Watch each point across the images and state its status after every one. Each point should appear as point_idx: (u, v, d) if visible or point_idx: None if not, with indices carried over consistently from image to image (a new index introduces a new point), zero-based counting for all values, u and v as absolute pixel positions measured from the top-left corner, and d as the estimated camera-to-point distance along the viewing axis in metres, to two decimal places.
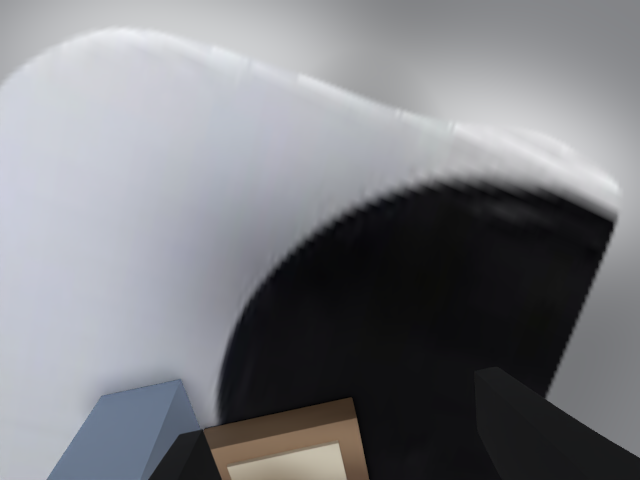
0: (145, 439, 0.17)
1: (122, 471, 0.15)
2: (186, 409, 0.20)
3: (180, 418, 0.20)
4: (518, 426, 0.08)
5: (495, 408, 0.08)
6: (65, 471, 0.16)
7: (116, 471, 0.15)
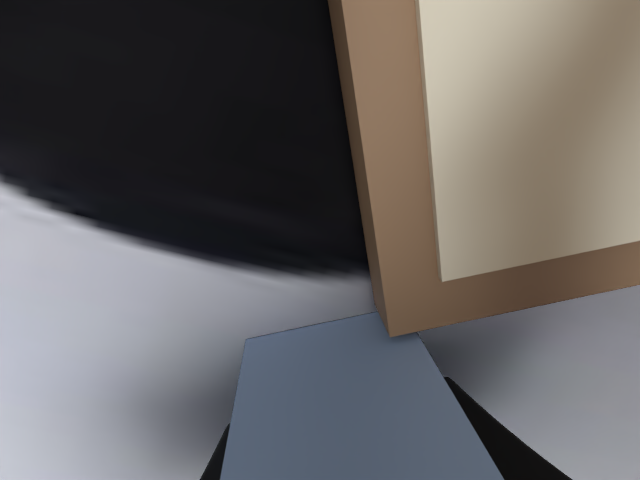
0: None
1: None
2: (302, 342, 0.10)
3: (292, 366, 0.09)
4: None
5: None
6: None
7: None
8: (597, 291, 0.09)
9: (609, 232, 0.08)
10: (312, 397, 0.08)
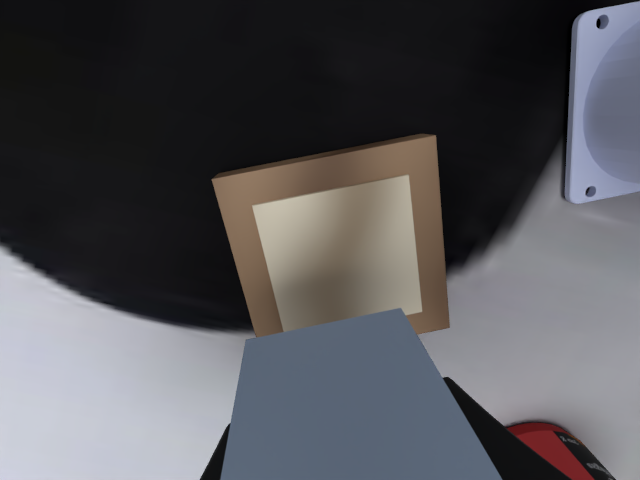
0: None
1: None
2: (302, 343, 0.10)
3: (292, 366, 0.09)
4: None
5: None
6: None
7: None
8: None
9: None
10: (313, 398, 0.08)
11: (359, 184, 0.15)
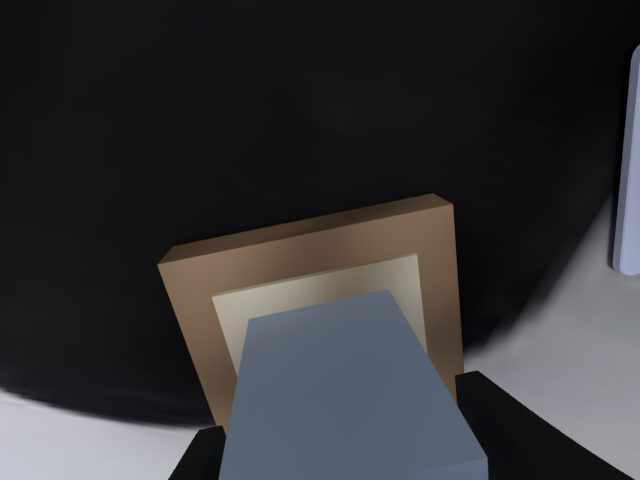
0: None
1: None
2: (299, 320, 0.11)
3: (290, 339, 0.10)
4: (494, 431, 0.08)
5: (474, 412, 0.08)
6: None
7: None
8: None
9: None
10: (308, 364, 0.09)
11: (352, 266, 0.11)
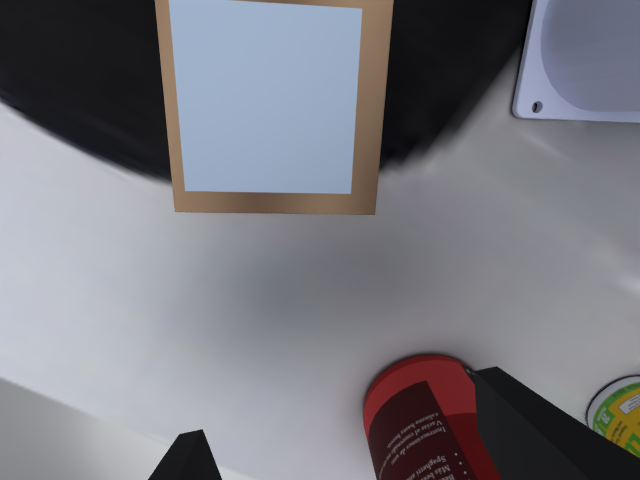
0: None
1: None
2: None
3: None
4: (518, 426, 0.08)
5: (495, 408, 0.08)
6: None
7: None
8: (291, 212, 0.17)
9: None
10: None
11: None
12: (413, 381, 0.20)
